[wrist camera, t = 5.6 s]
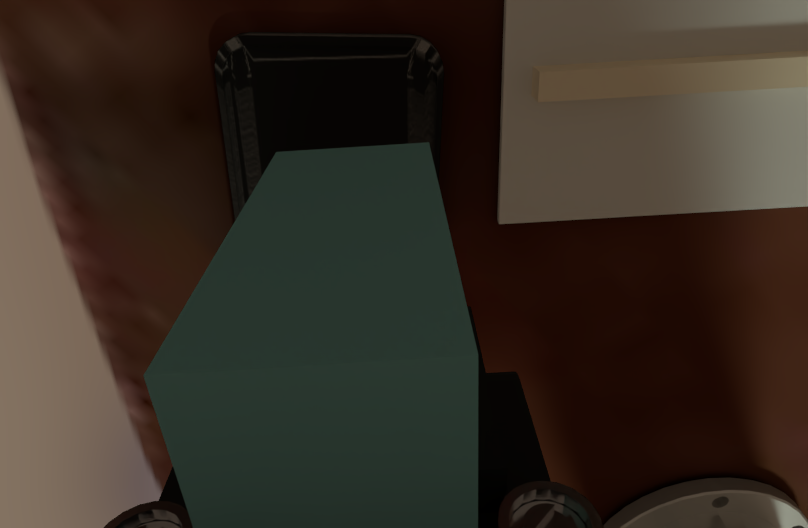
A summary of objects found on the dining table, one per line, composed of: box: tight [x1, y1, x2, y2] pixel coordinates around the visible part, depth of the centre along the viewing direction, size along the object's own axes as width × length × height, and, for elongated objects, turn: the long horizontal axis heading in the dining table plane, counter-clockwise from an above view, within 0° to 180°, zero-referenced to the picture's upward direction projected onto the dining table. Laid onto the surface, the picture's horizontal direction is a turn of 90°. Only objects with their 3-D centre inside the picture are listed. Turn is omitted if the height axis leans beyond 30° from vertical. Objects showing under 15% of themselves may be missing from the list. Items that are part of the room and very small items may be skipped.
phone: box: [215, 32, 444, 221], centre depth 23 cm, size 8×1×15 cm
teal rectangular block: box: [144, 142, 478, 528], centre depth 10 cm, size 8×3×7 cm, turn 3°
